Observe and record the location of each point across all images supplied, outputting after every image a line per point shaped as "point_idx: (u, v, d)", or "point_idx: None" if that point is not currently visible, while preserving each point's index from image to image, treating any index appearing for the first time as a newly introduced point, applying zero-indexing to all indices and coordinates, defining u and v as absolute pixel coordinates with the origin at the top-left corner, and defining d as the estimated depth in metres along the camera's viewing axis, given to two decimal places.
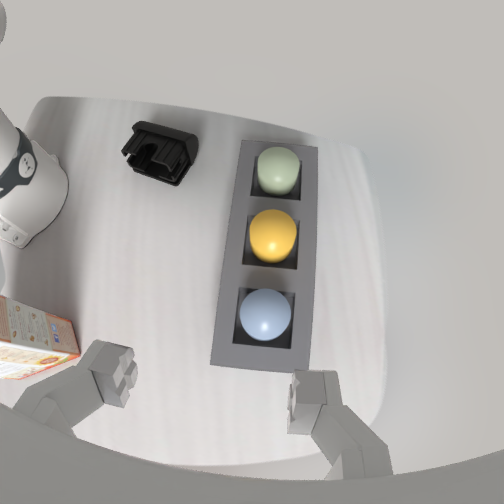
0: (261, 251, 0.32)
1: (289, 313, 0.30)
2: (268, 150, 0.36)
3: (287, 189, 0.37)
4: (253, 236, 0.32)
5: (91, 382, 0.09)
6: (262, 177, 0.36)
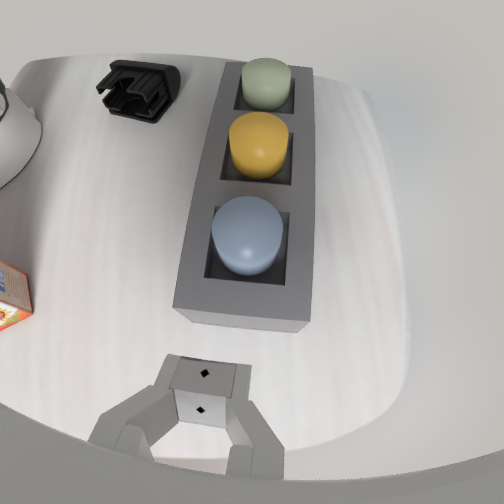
0: (243, 155, 0.24)
1: (280, 227, 0.21)
2: (254, 61, 0.28)
3: (278, 102, 0.29)
4: (233, 138, 0.24)
5: (171, 401, 0.09)
6: (247, 85, 0.28)
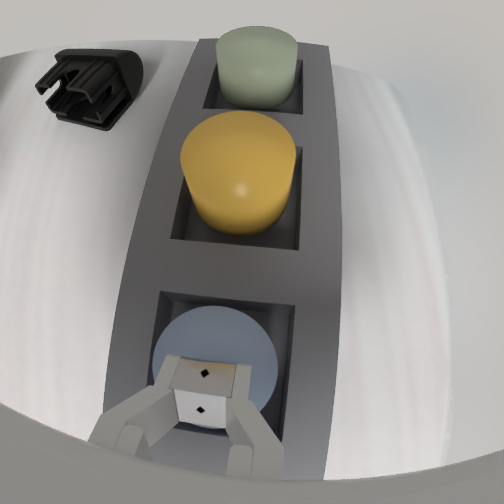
0: (207, 199, 0.12)
1: (274, 369, 0.11)
2: (238, 30, 0.16)
3: (276, 95, 0.17)
4: (189, 165, 0.13)
5: (171, 401, 0.09)
6: (224, 67, 0.16)
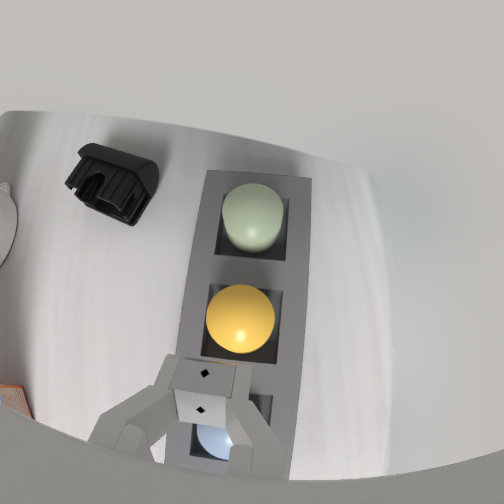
0: None
1: None
2: (238, 189, 0.26)
3: (266, 245, 0.27)
4: (211, 327, 0.22)
5: (171, 401, 0.09)
6: (229, 230, 0.25)
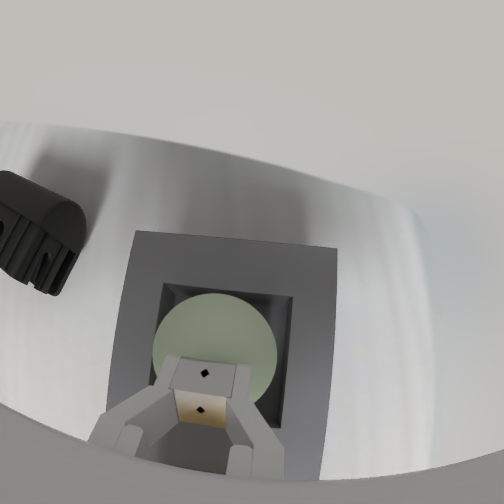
0: None
1: None
2: (185, 307, 0.12)
3: None
4: None
5: (171, 401, 0.09)
6: None
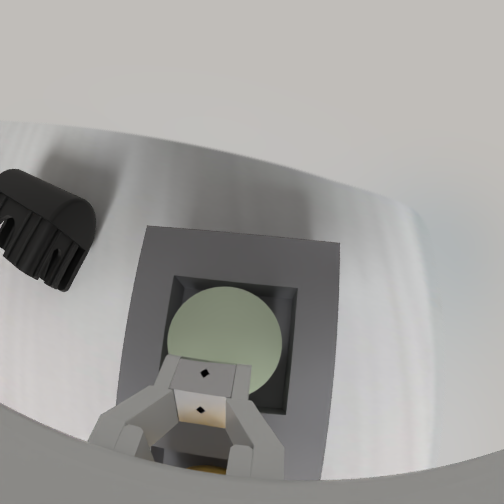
0: None
1: None
2: (198, 299, 0.13)
3: None
4: None
5: (171, 401, 0.09)
6: None
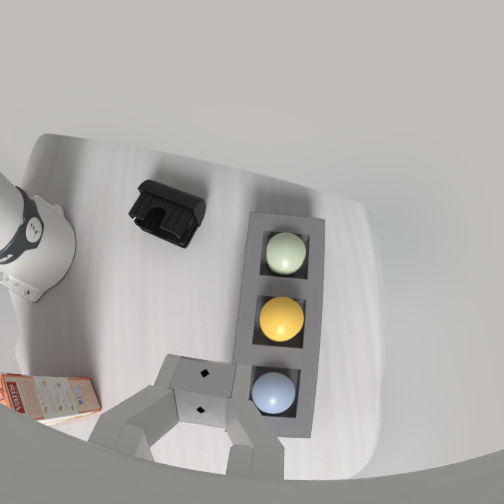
0: (271, 337, 0.34)
1: (293, 393, 0.33)
2: (276, 236, 0.40)
3: (293, 273, 0.41)
4: (264, 324, 0.34)
5: (171, 401, 0.09)
6: (271, 264, 0.39)
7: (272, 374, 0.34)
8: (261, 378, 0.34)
